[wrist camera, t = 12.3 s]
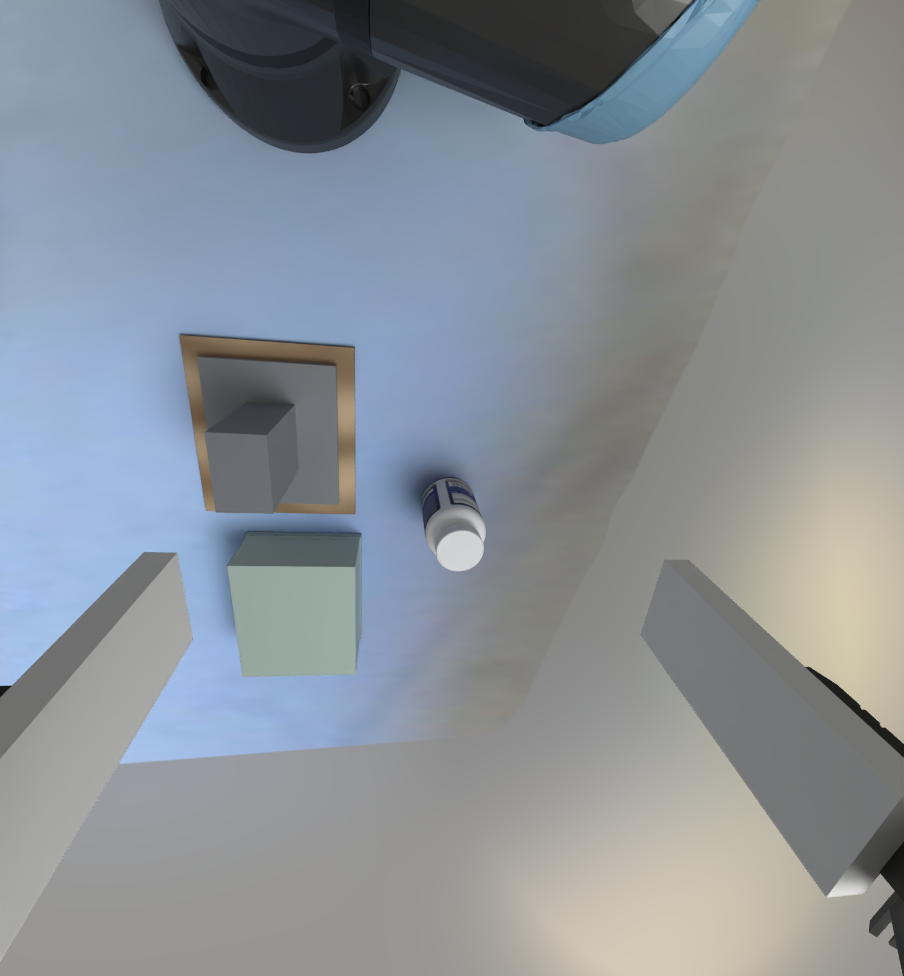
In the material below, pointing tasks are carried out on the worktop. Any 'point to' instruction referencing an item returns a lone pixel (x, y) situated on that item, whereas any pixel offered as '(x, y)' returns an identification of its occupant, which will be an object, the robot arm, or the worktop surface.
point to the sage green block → (297, 603)
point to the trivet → (279, 352)
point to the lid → (270, 432)
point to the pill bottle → (453, 524)
